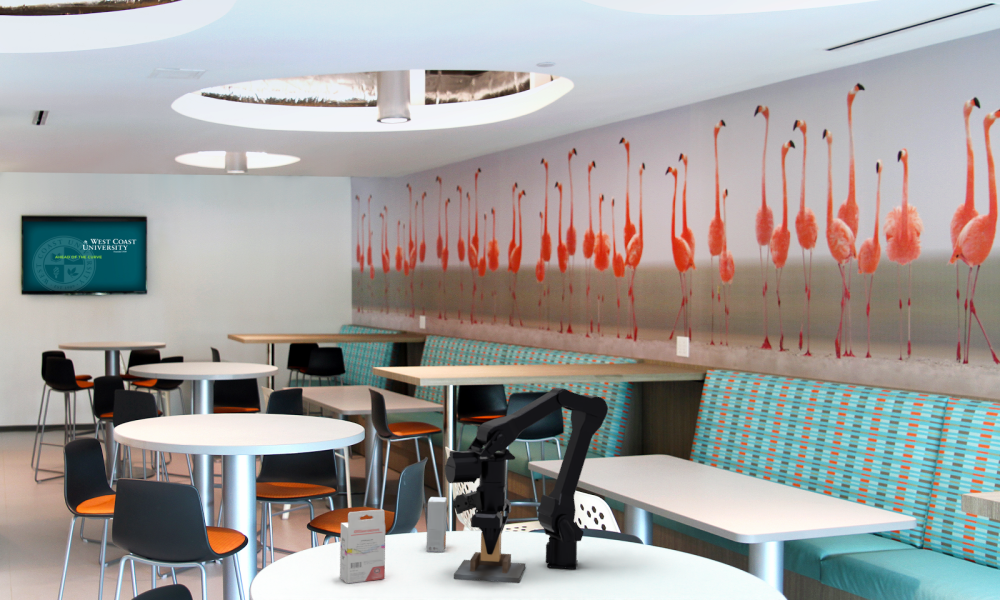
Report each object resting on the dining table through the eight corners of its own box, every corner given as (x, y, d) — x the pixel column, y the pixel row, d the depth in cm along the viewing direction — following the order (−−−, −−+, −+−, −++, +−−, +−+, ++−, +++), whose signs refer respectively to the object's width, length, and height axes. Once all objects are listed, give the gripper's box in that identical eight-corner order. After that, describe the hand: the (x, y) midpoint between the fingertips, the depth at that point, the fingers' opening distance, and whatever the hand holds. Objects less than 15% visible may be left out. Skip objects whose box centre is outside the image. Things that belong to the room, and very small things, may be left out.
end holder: (525, 567, 201) (525, 552, 201) (518, 582, 189) (519, 566, 189) (464, 564, 203) (464, 548, 203) (453, 578, 191) (454, 562, 191)
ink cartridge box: (377, 573, 194) (378, 505, 195) (385, 579, 190) (386, 509, 190) (338, 577, 190) (340, 508, 191) (345, 584, 186) (347, 512, 186)
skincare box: (444, 552, 213) (445, 501, 214) (426, 552, 213) (427, 501, 214) (446, 546, 219) (447, 497, 220) (428, 545, 219) (429, 496, 220)
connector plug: (500, 558, 198) (501, 521, 198) (498, 561, 195) (499, 524, 195) (482, 557, 198) (483, 520, 198) (480, 560, 195) (481, 523, 195)
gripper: (464, 472, 207) (462, 540, 207) (447, 486, 189) (446, 561, 188) (511, 474, 206) (510, 543, 205) (500, 488, 187) (498, 564, 187)
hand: (491, 552), depth 196 cm, fingers closed on connector plug, 3 cm apart
